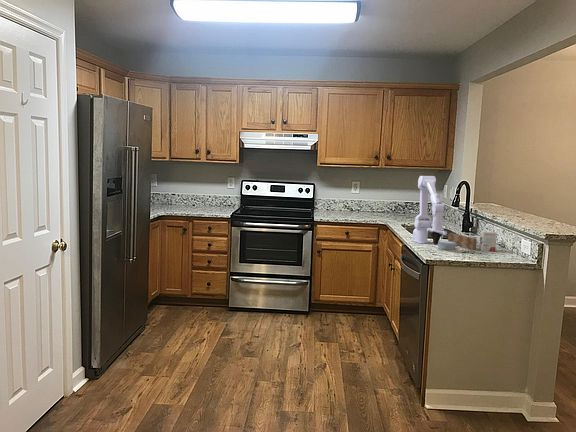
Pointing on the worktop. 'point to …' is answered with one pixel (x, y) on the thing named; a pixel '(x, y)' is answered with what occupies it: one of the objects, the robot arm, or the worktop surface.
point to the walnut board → (463, 241)
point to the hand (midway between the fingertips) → (435, 244)
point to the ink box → (487, 241)
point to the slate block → (447, 245)
